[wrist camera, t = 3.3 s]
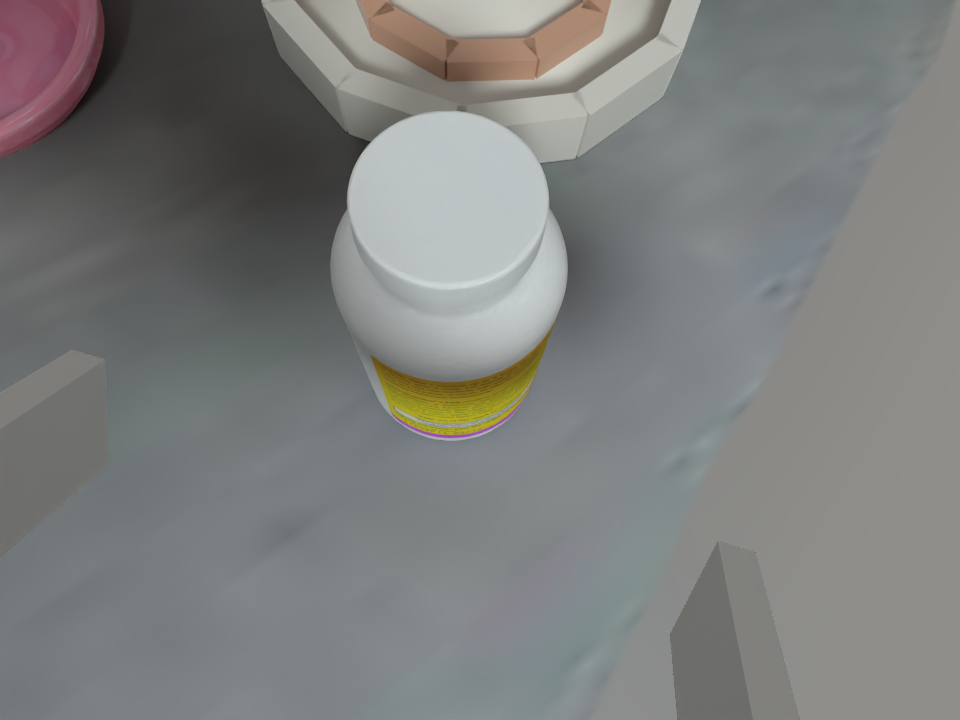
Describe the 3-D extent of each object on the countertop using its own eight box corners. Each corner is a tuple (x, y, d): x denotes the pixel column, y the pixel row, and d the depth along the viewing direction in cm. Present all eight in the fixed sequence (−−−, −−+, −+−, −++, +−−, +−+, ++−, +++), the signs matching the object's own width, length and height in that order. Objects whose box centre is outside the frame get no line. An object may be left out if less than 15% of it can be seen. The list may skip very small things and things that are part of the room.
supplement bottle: (564, 392, 28) (650, 248, 16) (419, 475, 27) (389, 388, 14) (481, 260, 30) (500, 34, 17) (340, 332, 28) (253, 145, 16)
